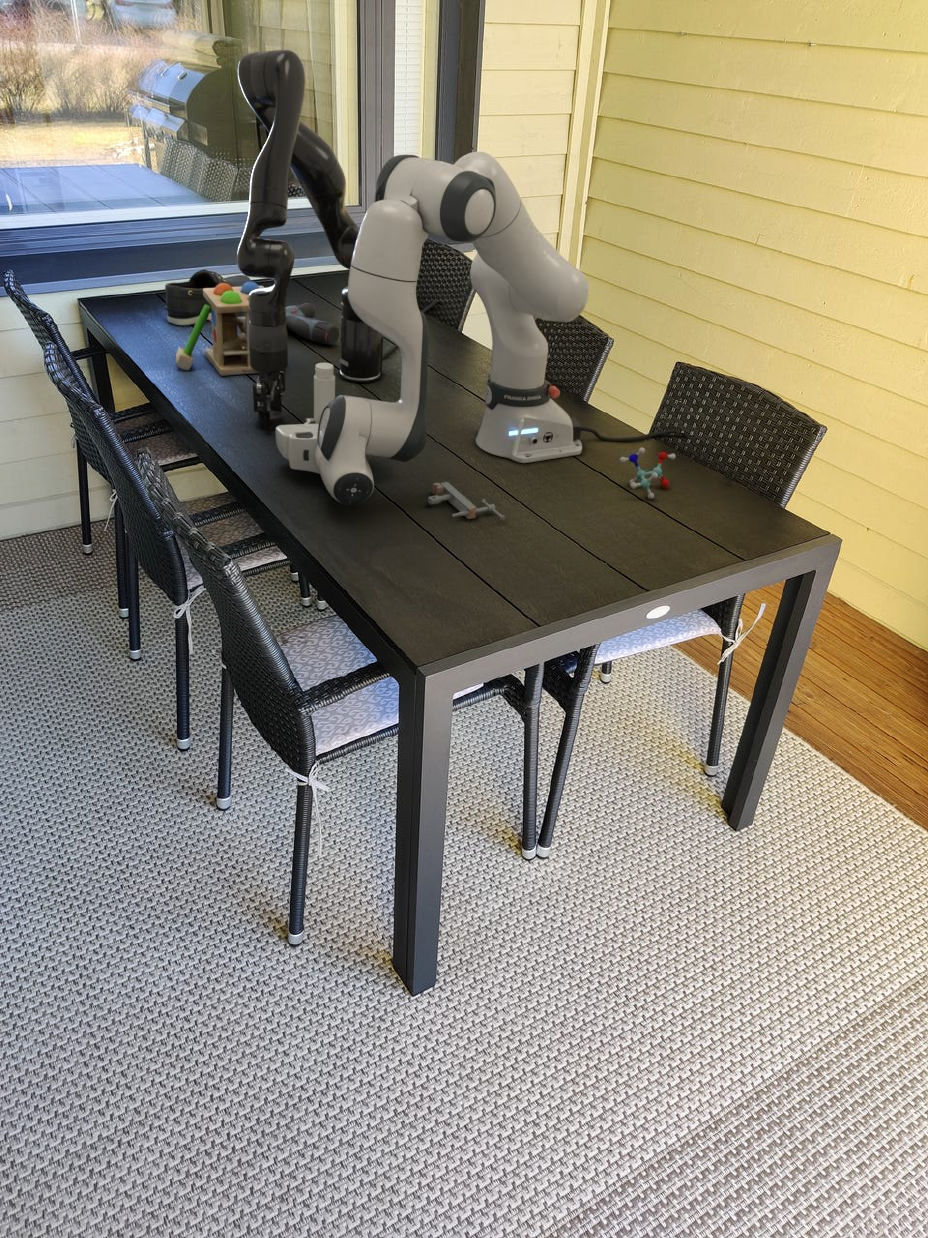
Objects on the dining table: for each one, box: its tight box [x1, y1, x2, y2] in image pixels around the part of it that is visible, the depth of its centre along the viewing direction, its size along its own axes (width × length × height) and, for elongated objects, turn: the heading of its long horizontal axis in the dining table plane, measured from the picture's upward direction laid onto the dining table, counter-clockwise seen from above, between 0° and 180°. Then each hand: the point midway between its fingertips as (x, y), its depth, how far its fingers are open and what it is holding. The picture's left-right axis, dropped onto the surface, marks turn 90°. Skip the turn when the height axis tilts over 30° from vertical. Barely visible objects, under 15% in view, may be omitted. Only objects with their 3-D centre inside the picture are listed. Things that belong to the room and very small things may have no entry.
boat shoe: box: [164, 269, 253, 326], centre depth 260 cm, size 13×33×10 cm, turn 147°
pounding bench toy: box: [174, 281, 265, 377], centre depth 225 cm, size 23×14×18 cm, turn 116°
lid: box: [257, 409, 284, 431], centre depth 204 cm, size 5×5×2 cm
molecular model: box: [619, 447, 676, 500], centre depth 192 cm, size 12×10×10 cm
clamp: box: [427, 481, 506, 521], centre depth 180 cm, size 15×2×10 cm
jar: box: [313, 362, 336, 424], centre depth 190 cm, size 4×4×18 cm
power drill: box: [286, 302, 340, 346], centre depth 252 cm, size 5×19×20 cm
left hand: (270, 421), depth 204 cm, fingers open, 7 cm apart
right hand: (323, 421), depth 192 cm, fingers closed on jar, 4 cm apart
